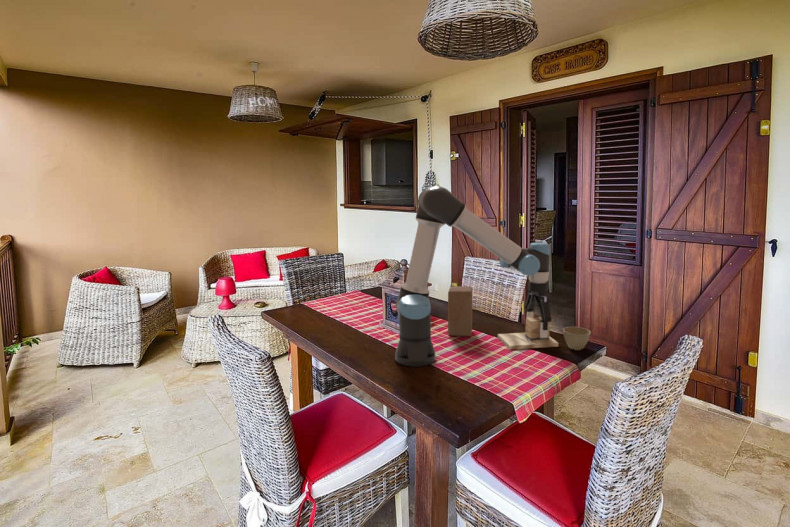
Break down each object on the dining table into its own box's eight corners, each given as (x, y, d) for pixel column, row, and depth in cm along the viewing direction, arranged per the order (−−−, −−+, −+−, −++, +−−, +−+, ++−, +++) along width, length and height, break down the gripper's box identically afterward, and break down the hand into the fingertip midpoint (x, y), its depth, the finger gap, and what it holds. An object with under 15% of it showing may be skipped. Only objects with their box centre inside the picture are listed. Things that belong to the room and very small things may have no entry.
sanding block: (530, 340, 179) (530, 321, 178) (525, 336, 184) (525, 317, 183) (549, 339, 180) (549, 320, 179) (543, 335, 185) (544, 316, 184)
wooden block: (471, 337, 189) (471, 291, 185) (447, 336, 191) (447, 290, 187) (472, 329, 199) (472, 286, 195) (449, 328, 201) (449, 285, 197)
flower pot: (577, 354, 168) (578, 336, 167) (556, 346, 177) (557, 329, 175) (595, 349, 172) (596, 332, 171) (574, 341, 181) (575, 325, 180)
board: (509, 349, 174) (509, 345, 174) (497, 337, 188) (497, 334, 188) (558, 346, 176) (558, 342, 176) (542, 334, 190) (543, 331, 190)
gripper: (562, 287, 166) (559, 341, 170) (534, 274, 191) (532, 322, 194) (543, 288, 165) (540, 342, 169) (517, 275, 190) (516, 323, 194)
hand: (536, 331), depth 182 cm, fingers open, 13 cm apart
